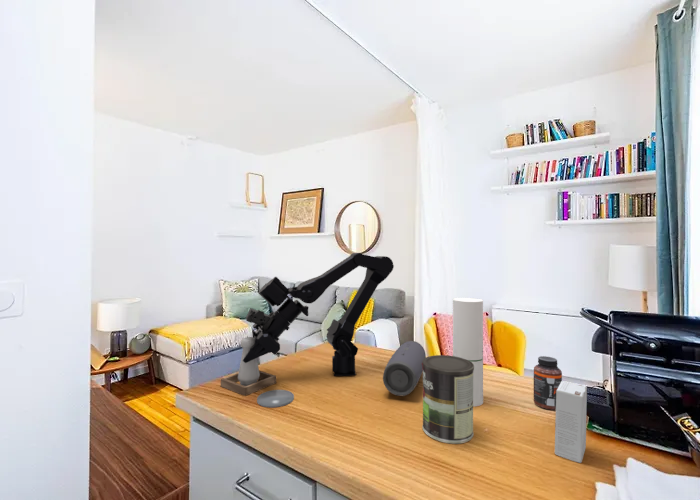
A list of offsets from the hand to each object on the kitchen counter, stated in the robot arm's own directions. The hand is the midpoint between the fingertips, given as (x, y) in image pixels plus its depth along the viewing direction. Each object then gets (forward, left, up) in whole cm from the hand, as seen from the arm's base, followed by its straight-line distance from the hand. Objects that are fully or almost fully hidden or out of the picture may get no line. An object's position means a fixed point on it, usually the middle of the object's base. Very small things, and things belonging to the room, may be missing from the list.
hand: (243, 359), depth 94 cm
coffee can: (-48, +27, -7) cm, 56 cm away
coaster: (-10, +10, -7) cm, 16 cm away
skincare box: (-68, +36, -7) cm, 77 cm away
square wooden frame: (-1, 0, -7) cm, 7 cm away
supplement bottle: (-76, +17, -7) cm, 78 cm away
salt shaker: (-1, 0, -7) cm, 7 cm away
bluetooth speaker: (-45, +2, -7) cm, 46 cm away
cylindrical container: (-58, +13, -7) cm, 60 cm away
